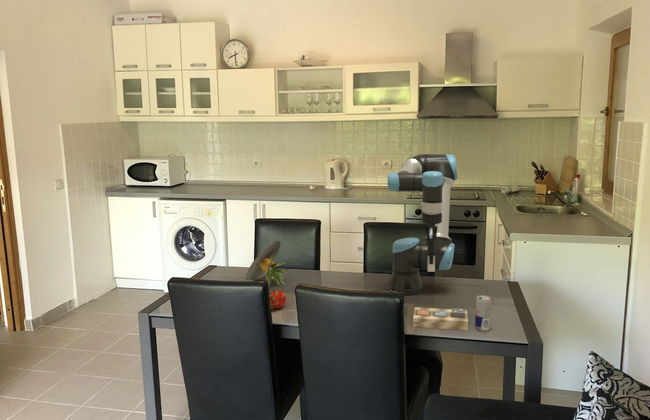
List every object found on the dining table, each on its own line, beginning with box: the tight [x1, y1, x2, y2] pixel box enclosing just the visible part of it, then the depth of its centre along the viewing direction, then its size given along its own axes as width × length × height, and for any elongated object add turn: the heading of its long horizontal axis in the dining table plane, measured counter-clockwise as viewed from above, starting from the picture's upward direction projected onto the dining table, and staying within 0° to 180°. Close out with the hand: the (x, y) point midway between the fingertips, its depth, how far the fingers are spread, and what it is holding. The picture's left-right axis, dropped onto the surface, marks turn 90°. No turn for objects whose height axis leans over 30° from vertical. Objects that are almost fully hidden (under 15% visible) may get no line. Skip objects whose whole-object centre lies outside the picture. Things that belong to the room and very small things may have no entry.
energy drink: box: [474, 294, 492, 332], centre depth 199 cm, size 5×5×12 cm
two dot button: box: [451, 307, 465, 318], centre depth 204 cm, size 4×4×3 cm
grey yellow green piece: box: [244, 240, 291, 286], centre depth 252 cm, size 25×18×25 cm
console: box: [412, 306, 469, 331], centre depth 206 cm, size 20×11×4 cm, turn 77°
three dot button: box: [434, 311, 447, 317], centre depth 206 cm, size 4×4×3 cm
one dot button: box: [417, 310, 429, 316], centre depth 207 cm, size 4×4×3 cm
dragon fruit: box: [268, 289, 288, 310], centre depth 225 cm, size 8×8×12 cm
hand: (431, 270), depth 211 cm, fingers closed
